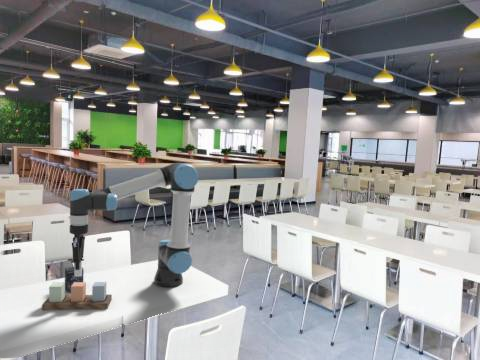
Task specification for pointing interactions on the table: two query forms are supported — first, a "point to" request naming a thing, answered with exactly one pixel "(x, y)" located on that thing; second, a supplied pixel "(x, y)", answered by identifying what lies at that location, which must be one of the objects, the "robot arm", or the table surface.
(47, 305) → the panel
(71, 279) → the box
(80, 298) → the orange block
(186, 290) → the table surface
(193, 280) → the table surface
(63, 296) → the pale green block
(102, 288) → the slate button
